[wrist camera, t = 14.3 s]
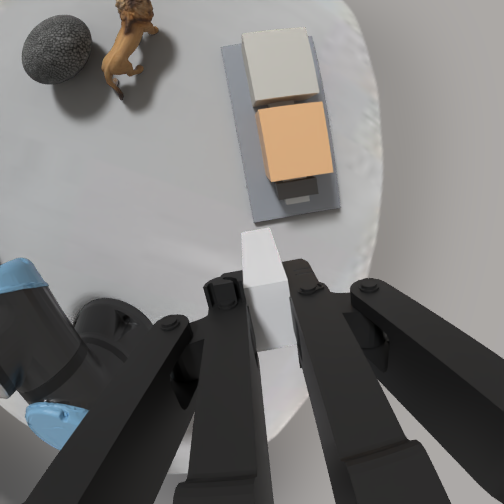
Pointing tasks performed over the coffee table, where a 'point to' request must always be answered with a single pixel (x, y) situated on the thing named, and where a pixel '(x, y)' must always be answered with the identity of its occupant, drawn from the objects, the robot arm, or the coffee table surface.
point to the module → (294, 141)
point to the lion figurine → (128, 39)
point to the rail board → (254, 151)
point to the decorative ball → (56, 49)
